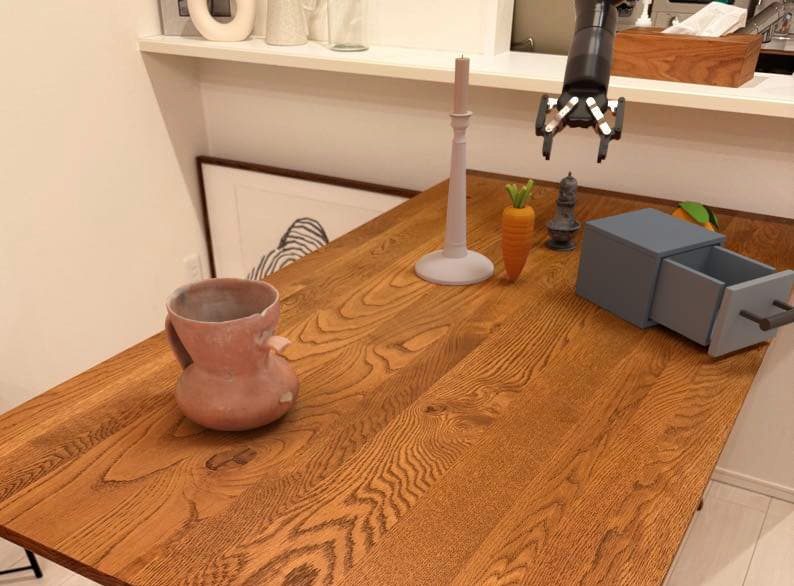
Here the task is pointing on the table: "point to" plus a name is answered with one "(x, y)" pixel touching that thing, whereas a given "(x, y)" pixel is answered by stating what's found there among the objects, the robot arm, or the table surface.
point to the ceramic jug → (229, 354)
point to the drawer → (721, 298)
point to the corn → (696, 214)
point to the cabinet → (633, 259)
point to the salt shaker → (564, 217)
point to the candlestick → (456, 205)
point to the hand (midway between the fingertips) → (573, 159)
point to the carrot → (517, 230)
